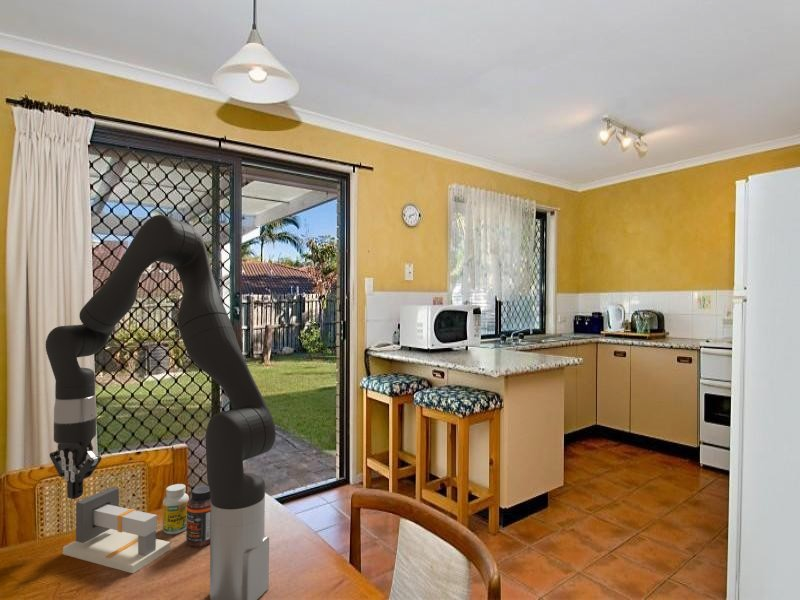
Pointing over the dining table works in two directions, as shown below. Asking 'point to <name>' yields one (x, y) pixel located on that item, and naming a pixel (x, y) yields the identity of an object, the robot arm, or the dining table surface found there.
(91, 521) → the collar
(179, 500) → the supplement bottle
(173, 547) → the dining table surface
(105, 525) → the white bar stand
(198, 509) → the supplement bottle
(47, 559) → the dining table surface
